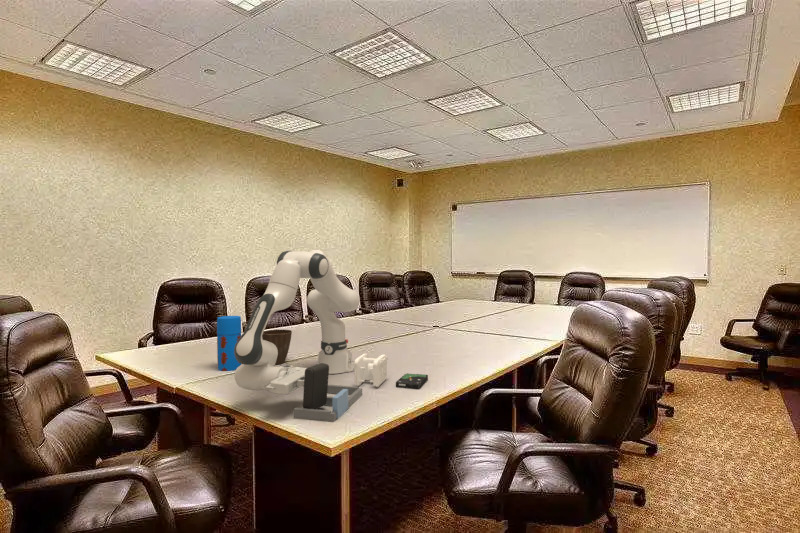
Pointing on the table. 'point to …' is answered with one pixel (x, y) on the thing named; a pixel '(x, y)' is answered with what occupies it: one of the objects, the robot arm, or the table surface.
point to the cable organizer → (370, 369)
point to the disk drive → (412, 381)
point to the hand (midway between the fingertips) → (313, 382)
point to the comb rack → (332, 404)
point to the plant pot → (279, 342)
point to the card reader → (315, 386)
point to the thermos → (227, 342)
